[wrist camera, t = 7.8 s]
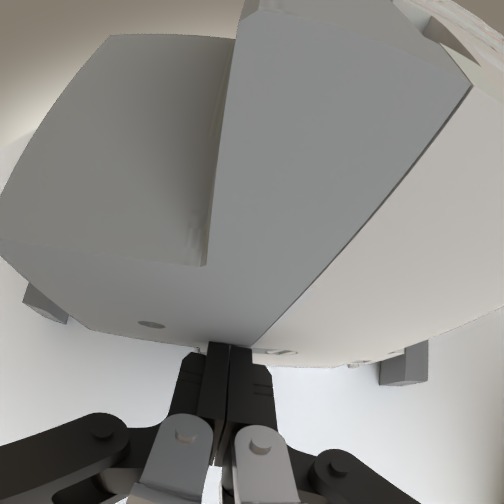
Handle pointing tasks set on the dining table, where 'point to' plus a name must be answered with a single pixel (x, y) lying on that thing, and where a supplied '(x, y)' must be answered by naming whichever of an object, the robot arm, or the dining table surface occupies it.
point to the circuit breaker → (275, 183)
